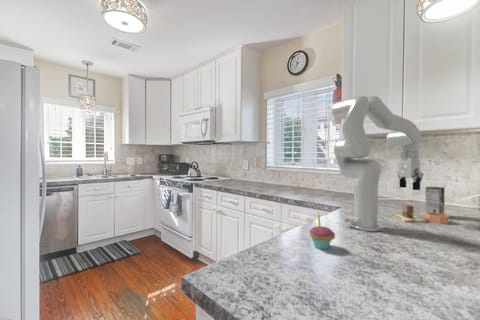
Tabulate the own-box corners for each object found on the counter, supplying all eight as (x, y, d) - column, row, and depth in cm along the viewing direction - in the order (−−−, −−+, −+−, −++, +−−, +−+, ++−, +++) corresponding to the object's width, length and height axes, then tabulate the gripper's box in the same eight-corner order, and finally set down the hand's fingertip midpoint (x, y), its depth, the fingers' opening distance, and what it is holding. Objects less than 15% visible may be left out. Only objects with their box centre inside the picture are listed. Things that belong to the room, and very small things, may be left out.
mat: (404, 223, 111) (404, 222, 111) (388, 217, 123) (388, 216, 123) (428, 223, 111) (428, 222, 111) (411, 217, 123) (411, 216, 123)
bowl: (434, 224, 109) (434, 216, 109) (420, 219, 118) (420, 211, 118) (453, 224, 109) (453, 216, 109) (437, 219, 118) (437, 212, 118)
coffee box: (430, 213, 132) (430, 186, 132) (444, 215, 126) (444, 187, 126) (425, 215, 126) (425, 187, 126) (439, 218, 121) (440, 188, 121)
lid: (404, 222, 112) (404, 207, 111) (390, 216, 123) (390, 203, 122) (427, 222, 111) (427, 207, 111) (410, 216, 122) (410, 203, 122)
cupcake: (304, 244, 83) (304, 211, 83) (322, 241, 86) (322, 209, 86) (321, 253, 75) (321, 217, 75) (340, 249, 78) (340, 214, 78)
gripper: (391, 155, 125) (391, 186, 125) (414, 155, 108) (414, 190, 108) (405, 155, 125) (405, 186, 125) (430, 155, 108) (430, 191, 108)
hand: (409, 188), depth 116 cm, fingers open, 9 cm apart
